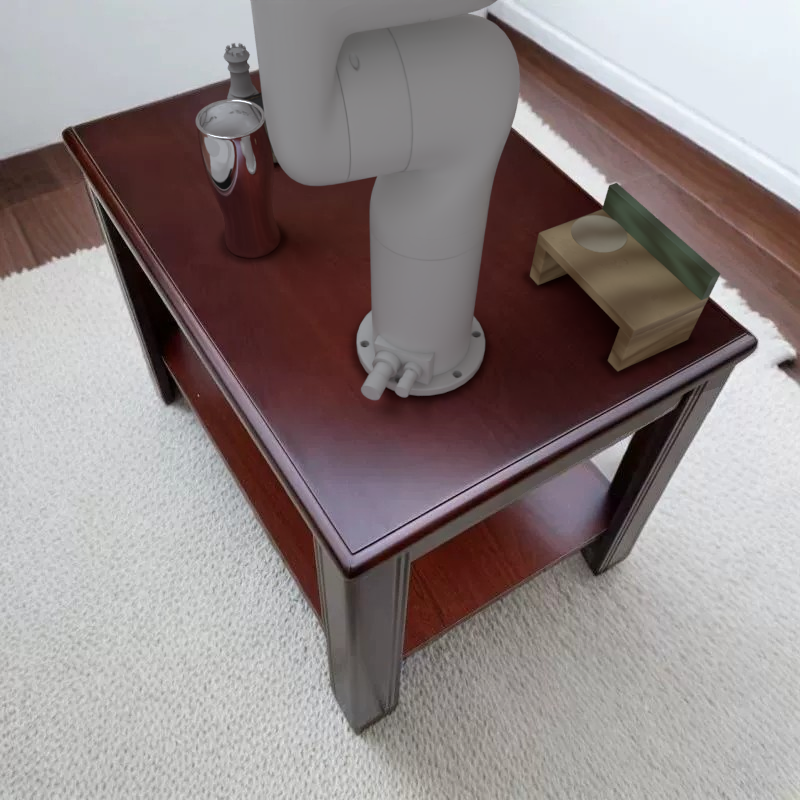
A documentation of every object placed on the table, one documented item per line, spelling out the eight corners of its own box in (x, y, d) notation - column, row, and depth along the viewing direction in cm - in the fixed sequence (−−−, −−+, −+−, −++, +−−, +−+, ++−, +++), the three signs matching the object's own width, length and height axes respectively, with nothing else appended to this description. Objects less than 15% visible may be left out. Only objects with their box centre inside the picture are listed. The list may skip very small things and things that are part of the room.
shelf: (688, 339, 73) (720, 273, 66) (617, 372, 71) (643, 306, 64) (596, 250, 81) (616, 182, 74) (529, 276, 79) (543, 208, 71)
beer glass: (297, 239, 82) (282, 116, 70) (249, 270, 78) (225, 148, 66) (256, 211, 84) (234, 89, 72) (208, 240, 81) (178, 118, 69)
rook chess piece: (244, 94, 99) (234, 35, 93) (269, 105, 98) (261, 46, 91) (221, 109, 97) (209, 49, 90) (246, 120, 95) (236, 61, 89)
